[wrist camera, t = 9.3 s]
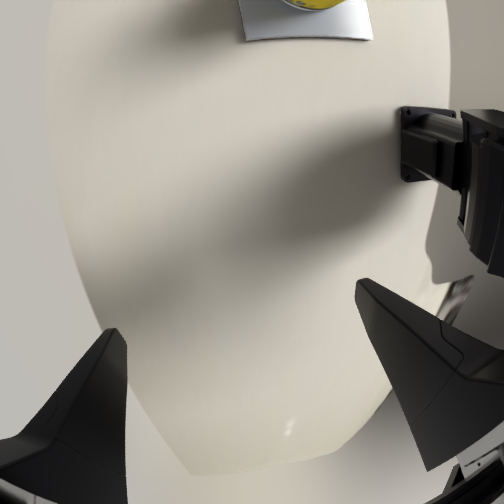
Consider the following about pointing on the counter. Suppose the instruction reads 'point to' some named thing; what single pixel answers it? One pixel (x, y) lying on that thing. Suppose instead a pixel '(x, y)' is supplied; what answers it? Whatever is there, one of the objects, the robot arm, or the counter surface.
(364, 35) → the slate coaster
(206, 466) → the counter surface
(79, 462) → the robot arm
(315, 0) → the supplement bottle
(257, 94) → the counter surface
